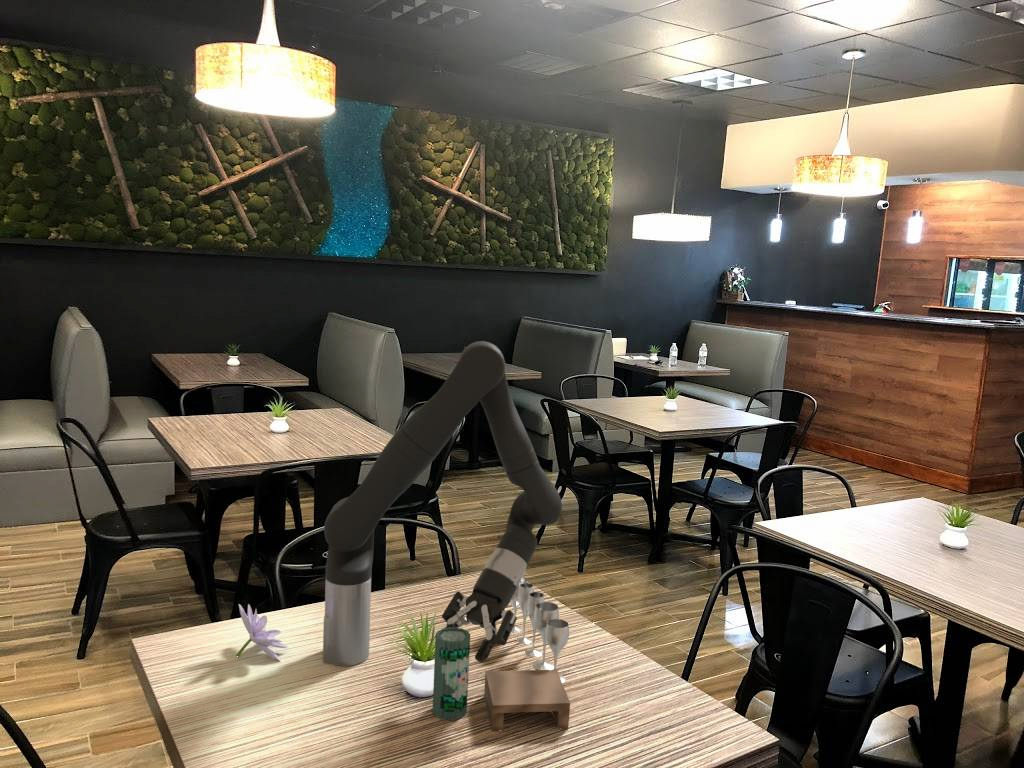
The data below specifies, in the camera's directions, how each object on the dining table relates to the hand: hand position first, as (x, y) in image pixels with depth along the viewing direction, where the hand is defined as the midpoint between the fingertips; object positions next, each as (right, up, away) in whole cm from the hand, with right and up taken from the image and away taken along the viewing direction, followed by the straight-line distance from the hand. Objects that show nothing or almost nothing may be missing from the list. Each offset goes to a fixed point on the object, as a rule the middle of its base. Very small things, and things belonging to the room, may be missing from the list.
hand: (460, 653), depth 149 cm
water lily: (-42, -6, +17) cm, 46 cm away
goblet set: (+14, -8, +24) cm, 29 cm away
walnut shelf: (+12, -11, +1) cm, 16 cm away
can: (-2, -11, 0) cm, 11 cm away
